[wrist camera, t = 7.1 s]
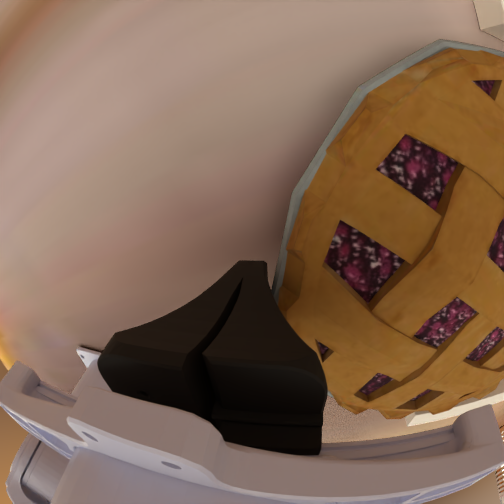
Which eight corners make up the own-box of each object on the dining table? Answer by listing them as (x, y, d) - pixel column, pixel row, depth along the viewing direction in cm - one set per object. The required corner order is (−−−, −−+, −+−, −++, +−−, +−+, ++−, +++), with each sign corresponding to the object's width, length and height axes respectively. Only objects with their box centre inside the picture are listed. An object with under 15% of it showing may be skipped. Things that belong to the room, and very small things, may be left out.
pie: (365, -21, 7) (394, -71, 2) (586, 185, 7) (624, 211, 3) (228, 336, 18) (209, 399, 13) (456, 388, 18) (469, 431, 14)
